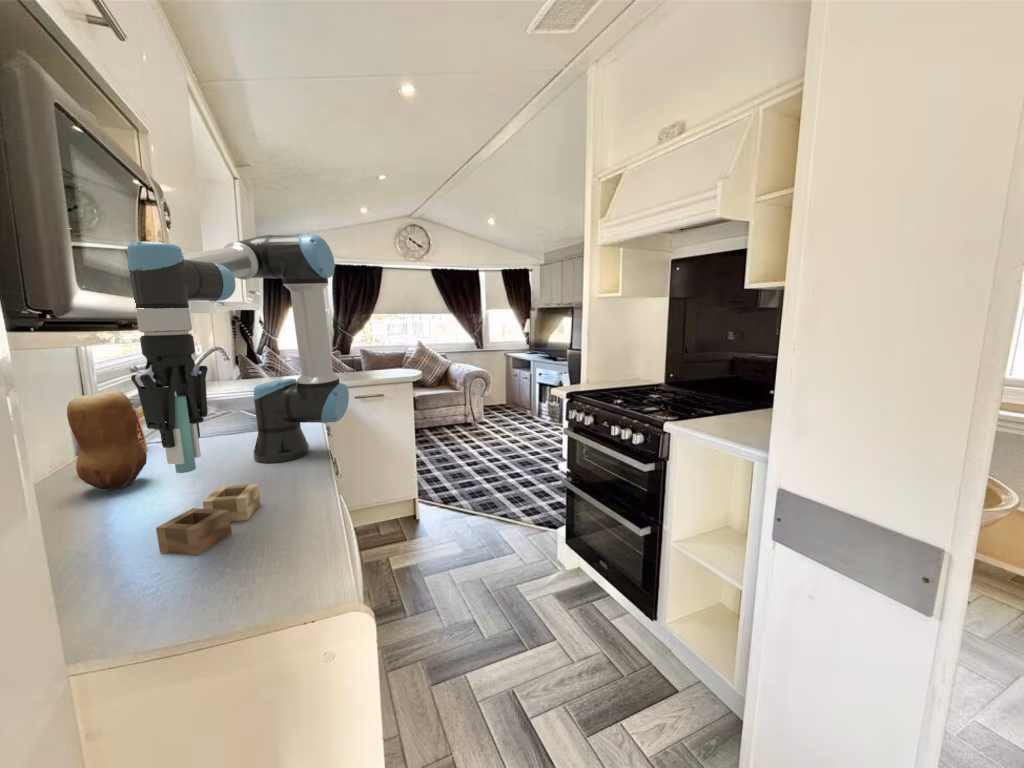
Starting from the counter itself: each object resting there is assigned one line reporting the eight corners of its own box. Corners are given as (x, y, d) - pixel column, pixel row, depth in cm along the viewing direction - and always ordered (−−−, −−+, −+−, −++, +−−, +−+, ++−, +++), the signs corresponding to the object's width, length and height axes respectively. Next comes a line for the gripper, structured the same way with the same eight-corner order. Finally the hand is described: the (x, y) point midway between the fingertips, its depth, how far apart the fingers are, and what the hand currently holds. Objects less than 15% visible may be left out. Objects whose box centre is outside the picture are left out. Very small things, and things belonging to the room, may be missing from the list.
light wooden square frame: (221, 507, 100) (219, 486, 99) (260, 504, 101) (257, 483, 101) (205, 524, 92) (202, 501, 91) (247, 519, 94) (245, 497, 93)
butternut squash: (81, 488, 112) (63, 392, 108) (148, 473, 121) (134, 384, 117) (81, 504, 102) (61, 399, 98) (154, 487, 112) (139, 391, 107)
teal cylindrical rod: (186, 467, 84) (175, 395, 81) (199, 467, 83) (190, 395, 81) (171, 472, 81) (160, 398, 79) (186, 473, 80) (175, 398, 78)
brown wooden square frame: (196, 531, 89) (192, 508, 88) (231, 533, 88) (228, 510, 87) (160, 552, 81) (155, 527, 80) (198, 555, 80) (194, 529, 79)
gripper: (186, 331, 86) (202, 446, 90) (101, 336, 71) (124, 475, 74) (220, 331, 85) (235, 447, 89) (142, 335, 70) (163, 476, 73)
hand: (184, 459), depth 82 cm, fingers closed on teal cylindrical rod, 3 cm apart
